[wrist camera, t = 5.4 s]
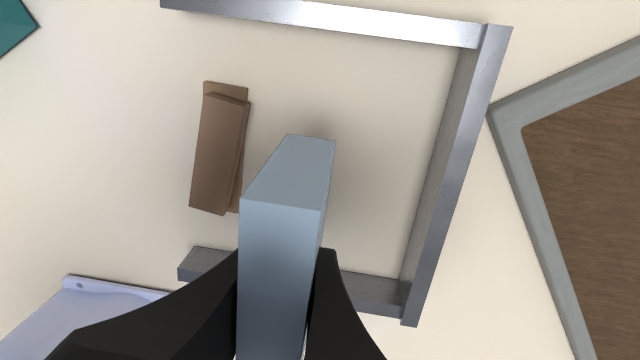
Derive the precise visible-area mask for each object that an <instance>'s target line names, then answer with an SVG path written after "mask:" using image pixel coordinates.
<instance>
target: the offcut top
mask: <svg viewBox="0 0 640 360" xmlns="http://www.w3.org/2000/svg"><path fill="white" fill-rule="evenodd" d="M249 107H250V103H249V102H246V101H242V100H239V99H236V98H232V97H229V96H226V95H223V94H219V93H216V92H213V91H212V92H210V93H207V94H205V95H204V97H203V104H202V111H201V119H200V126H199V133H198V140H197V148H196V155H195V162H194V170H193V177H192V184H191V191H190V199H189V206H190V207H193V208H196V209H200V210H203V211H207V212H210V213H213V214H217V215H220V216H224V214H225V213H226V212H227V210H228V209H229V208H230V203H231V198H232V193H233V188H234V183H235V178H236V173H237V168H238V163H239V157H240V152H241V147H242V142H243V137H244V132H245V127H246V122H247V117H248V112H249Z"/></svg>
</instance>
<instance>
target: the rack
mask: <svg viewBox="0 0 640 360" xmlns="http://www.w3.org/2000/svg"><path fill="white" fill-rule="evenodd" d="M160 8H167V9H173V10H179V11H186V12H193V13H201V14H208V15H216V16H224V17H231V18H239V19H247V20H254V21H262V22H270V23H277V24H285V25H293V26H300V27H308V28H315V29H323V30H331V31H338V32H346V33H354V34H361V35H369V36H377V37H384V38H392V39H399V40H407V41H415V42H422V43H430V44H438V45H445V46H453V47H461V51H460V55H459V59H458V62H457V66H456V70H455V73H454V77H453V81H452V85H451V88H450V92H449V96H448V99H447V103H446V107H445V110H444V114H443V118H442V121H441V125H440V129H439V132H438V136H437V140H436V143H435V147H434V151H433V155H432V158H431V162H430V166H429V169H428V173H427V177H426V180H425V184H424V188H423V191H422V195H421V199H420V202H419V206H418V210H417V213H416V217H415V221H414V225H413V228H412V232H411V236H410V239H409V243H408V247H407V250H406V254H405V258H404V261H403V265H402V269H401V272H400V276H399V280H395V279H389V278H383V277H377V276H371V275H365V274H359V273H353V272H347V271H341V270H340V273H341V276H342V279H343V282H344V285H345V288H346V290H347V293H348V295H349V298H350V300H351V302H352V304H353V306H354V308H355V310H356V311H357V312H363V313H369V314H375V315H380V316H386V317H392V318H398V319H400V325H403V326H409V327H415V328H417V325H418V322H419V319H420V315H421V312H422V309H423V306H424V303H425V300H426V297H427V294H428V291H429V288H430V284H431V281H432V278H433V275H434V272H435V269H436V266H437V263H438V260H439V256H440V253H441V250H442V247H443V244H444V241H445V238H446V235H447V232H448V229H449V225H450V222H451V219H452V216H453V213H454V210H455V207H456V204H457V201H458V198H459V194H460V191H461V188H462V185H463V182H464V179H465V176H466V173H467V170H468V167H469V163H470V160H471V157H472V154H473V151H474V148H475V145H476V142H477V139H478V136H479V132H480V129H481V126H482V123H483V120H484V117H485V114H486V111H487V108H488V104H489V101H490V98H491V95H492V92H493V89H494V86H495V83H496V80H497V77H498V73H499V70H500V67H501V64H502V61H503V58H504V55H505V52H506V49H507V46H508V42H509V39H510V36H511V33H512V30H513V27H512V26H504V25H496V24H480V23H472V22H465V21H457V20H449V19H441V18H433V17H425V16H417V15H409V14H402V13H394V12H386V11H378V10H370V9H362V8H354V7H346V6H339V5H331V4H323V3H315V2H307V1H299V0H160ZM231 253H233V252H227V251H221V250H215V249H210V248H204V247H198V246H194V248H193V249H192V250H191V251H190V253H189V254H188V255H187V256H186V258H185V259H184V260H183V261H182V263H181V264H180V265H179V267H178V268H177V274H178V281H184V282H189V283H190V282H192V281H194V280H195V279H197V278H198V277H200V276H201V275H203V274H204V273H206V272H207V271H209V270H210V269H211V268H213V267H214V266H216V265H217V264H218V263H220V262H221V261H222V260H224V259H225V258H226V257H228V256H229V255H230V254H231Z"/></svg>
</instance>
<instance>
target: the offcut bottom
mask: <svg viewBox="0 0 640 360" xmlns="http://www.w3.org/2000/svg"><path fill="white" fill-rule="evenodd" d="M212 91H213V92H216V93H219V94H223V95H226V96H229V97H232V98H236V99H239V100H242V101H246V102H247V95H248V88H245V87H239V86H233V85H228V84H222V83H217V82H211V81H205V82H203V97H204V95H205V94H207V93H210V92H212ZM244 139H245V132H244V137H243V142H242V147H241V152H240V157H239V163H238V168H237V173H236V178H235V183H234V188H233V193H232V198H231V203H230V208H229V209H228V210H227V212H233V213H238V212H239V200H240V197H241V184H242V169H243V154H244Z"/></svg>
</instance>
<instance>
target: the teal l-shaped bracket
mask: <svg viewBox="0 0 640 360" xmlns="http://www.w3.org/2000/svg"><path fill="white" fill-rule="evenodd" d="M35 28H36V25H35V23H34V22H33V20H32V19H31V17H30V16H29V14H28V13H27V11H26V10H25V8H24V7H23V5H22V4H21V2H20V1H19V0H0V56H1V55H2V54H4V53H5V52H6V51H7V50H9V49H10V48H11V47H12V46H14V45H15V44H16V43H17V42H19V41H20V40H21V39H22V38H24V37H25V36H26V35H27V34H29V33H30V32H31V31H32V30H34V29H35Z"/></svg>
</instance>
